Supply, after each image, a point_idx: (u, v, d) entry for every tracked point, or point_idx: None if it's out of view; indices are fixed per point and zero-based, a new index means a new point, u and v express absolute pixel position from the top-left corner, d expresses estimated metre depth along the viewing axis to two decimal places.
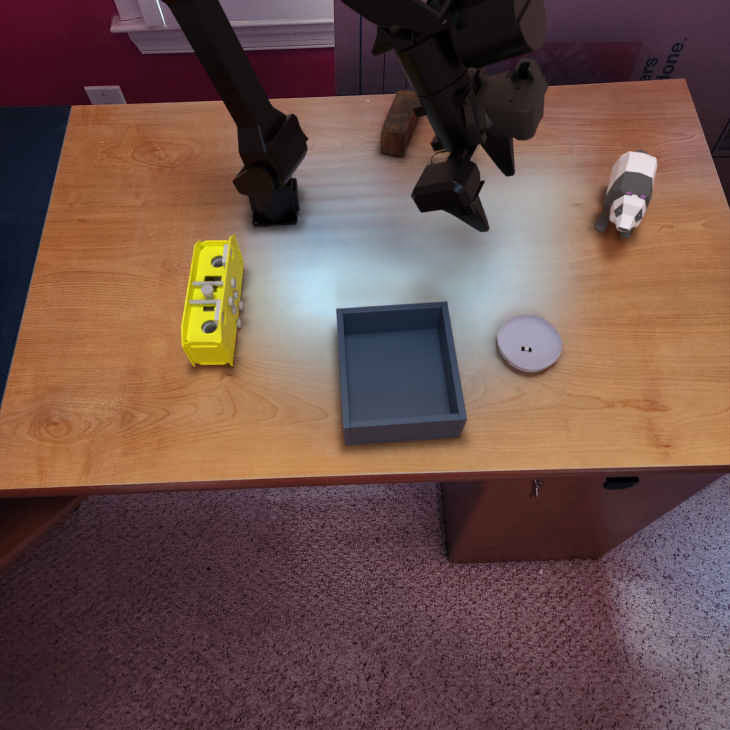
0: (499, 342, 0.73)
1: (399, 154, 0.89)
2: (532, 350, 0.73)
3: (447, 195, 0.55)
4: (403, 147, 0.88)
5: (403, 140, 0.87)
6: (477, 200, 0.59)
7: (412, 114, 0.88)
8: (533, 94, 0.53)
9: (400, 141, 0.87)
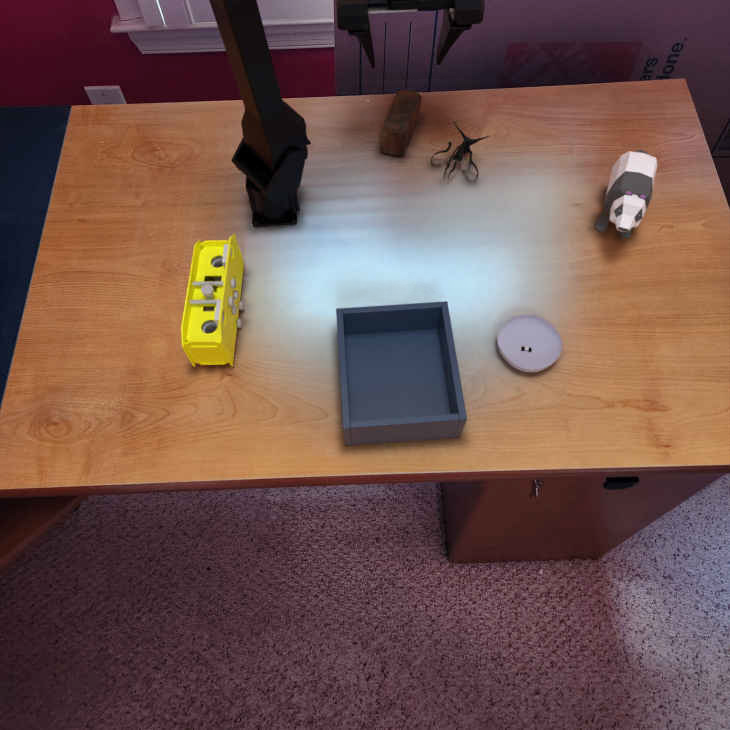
0: (499, 342, 0.73)
1: (399, 154, 0.89)
2: (532, 350, 0.73)
3: None
4: (403, 147, 0.88)
5: (403, 140, 0.87)
6: None
7: (412, 114, 0.88)
8: None
9: (400, 141, 0.87)
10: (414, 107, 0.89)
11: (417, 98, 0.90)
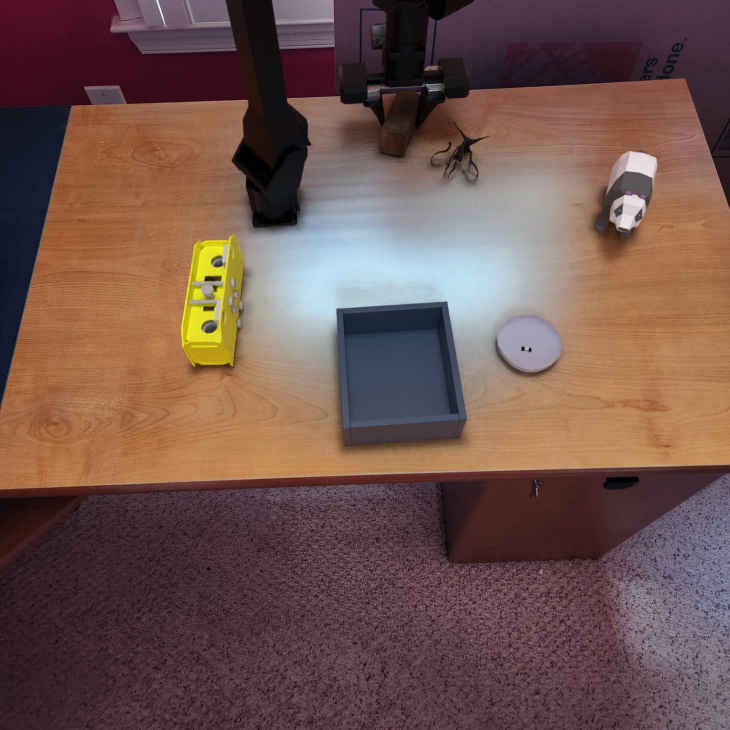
0: (499, 342, 0.73)
1: (399, 154, 0.89)
2: (532, 350, 0.73)
3: None
4: (403, 147, 0.88)
5: (403, 140, 0.87)
6: None
7: (412, 114, 0.88)
8: None
9: (400, 141, 0.87)
10: (414, 107, 0.89)
11: (417, 98, 0.90)
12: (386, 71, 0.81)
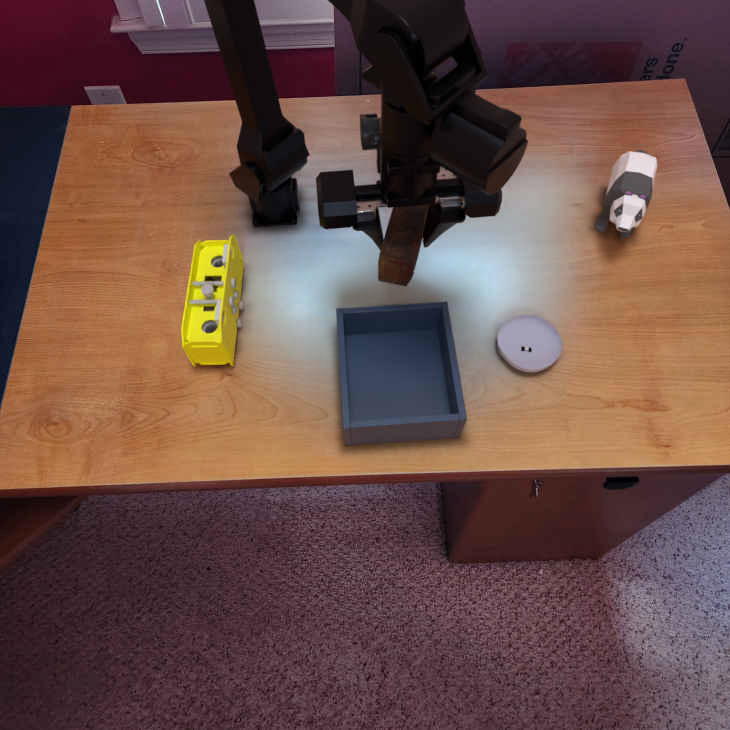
0: (499, 342, 0.73)
1: (404, 284, 0.65)
2: (532, 350, 0.73)
3: None
4: (410, 277, 0.64)
5: (410, 269, 0.63)
6: None
7: (420, 231, 0.64)
8: None
9: (405, 270, 0.63)
10: (422, 220, 0.65)
11: (425, 206, 0.66)
12: (383, 185, 0.57)
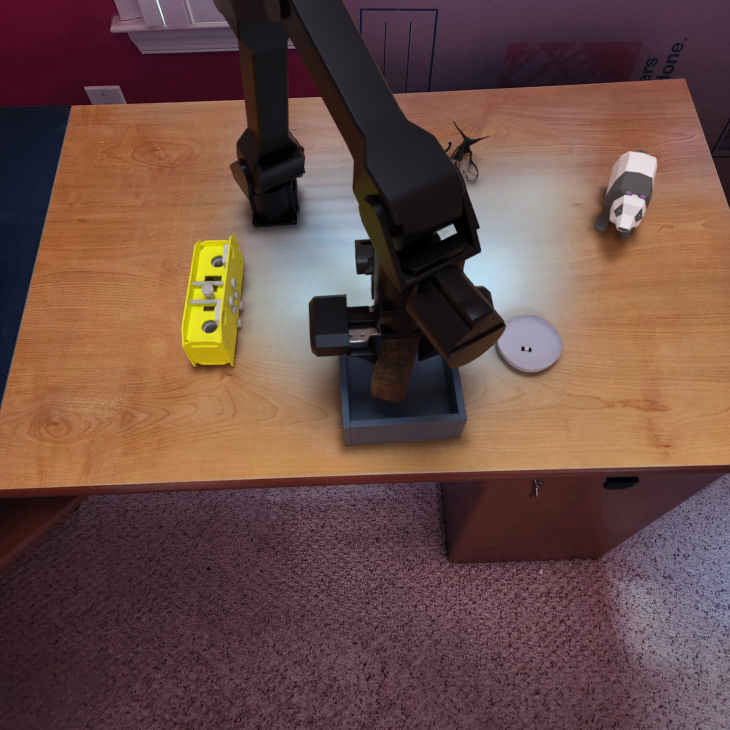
0: (499, 342, 0.73)
1: (397, 402, 0.64)
2: (532, 350, 0.73)
3: None
4: (403, 397, 0.63)
5: (403, 392, 0.62)
6: None
7: (414, 350, 0.63)
8: None
9: (398, 392, 0.62)
10: (416, 338, 0.64)
11: None
12: (376, 317, 0.56)
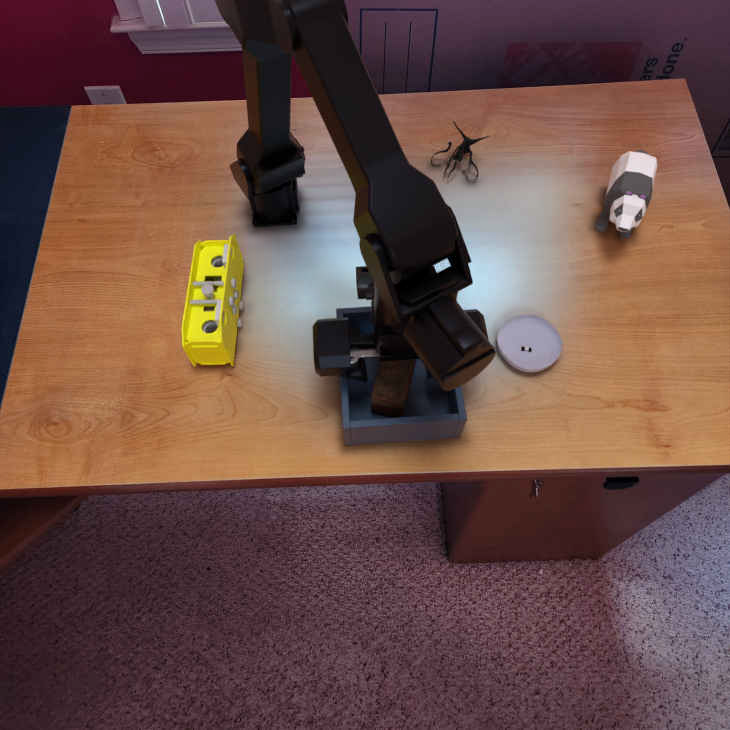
0: (499, 342, 0.73)
1: (396, 417, 0.68)
2: (532, 350, 0.73)
3: None
4: (401, 412, 0.67)
5: (401, 408, 0.66)
6: None
7: (411, 368, 0.67)
8: None
9: (397, 408, 0.66)
10: None
11: None
12: (376, 340, 0.60)
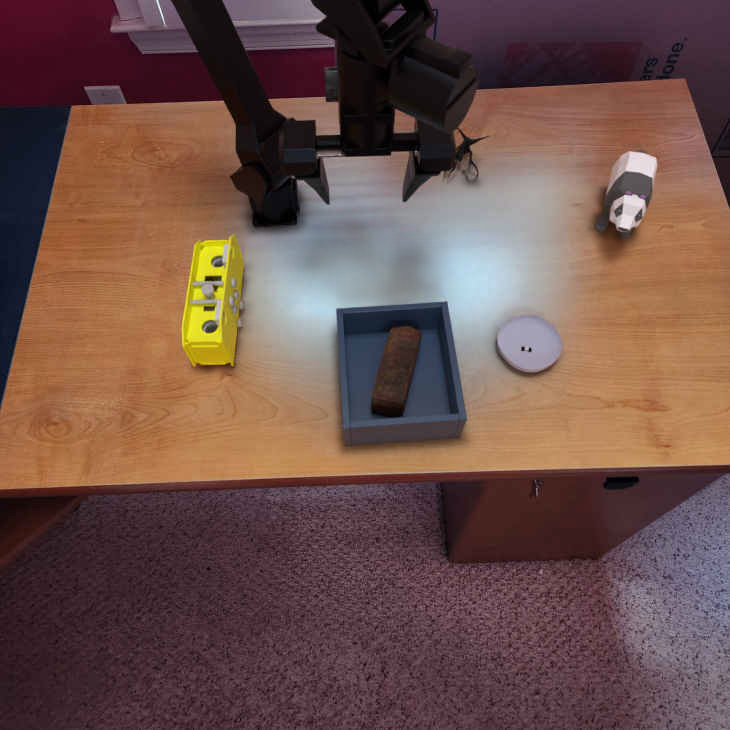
0: (499, 342, 0.73)
1: (396, 417, 0.68)
2: (532, 350, 0.73)
3: None
4: (401, 412, 0.67)
5: (401, 408, 0.66)
6: None
7: (411, 368, 0.67)
8: None
9: (397, 408, 0.66)
10: (413, 357, 0.67)
11: (417, 341, 0.69)
12: (341, 134, 0.60)
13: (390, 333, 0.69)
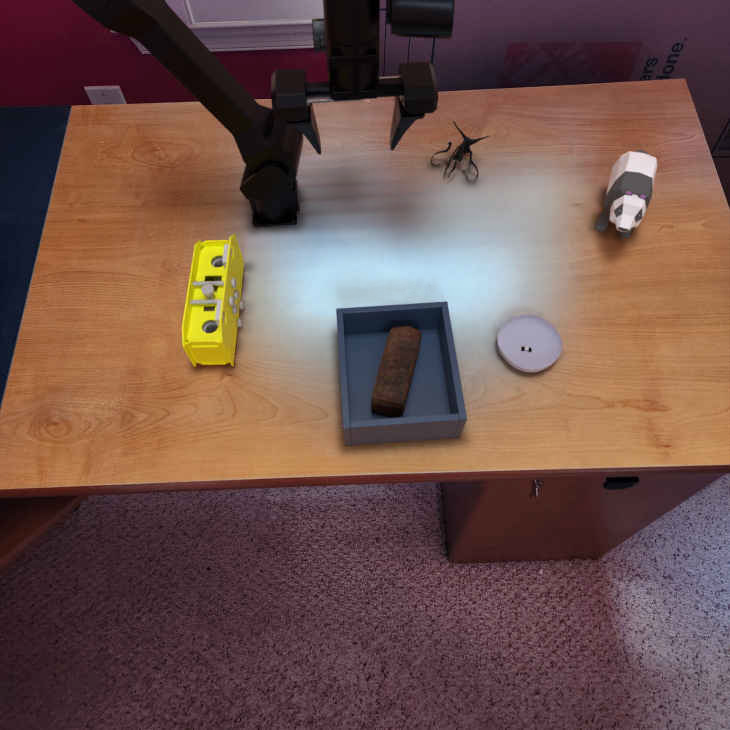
0: (499, 342, 0.73)
1: (396, 417, 0.68)
2: (532, 350, 0.73)
3: None
4: (401, 412, 0.67)
5: (401, 408, 0.66)
6: None
7: (411, 368, 0.67)
8: None
9: (397, 408, 0.66)
10: (414, 357, 0.67)
11: (417, 341, 0.69)
12: (330, 79, 0.64)
13: (390, 333, 0.69)
